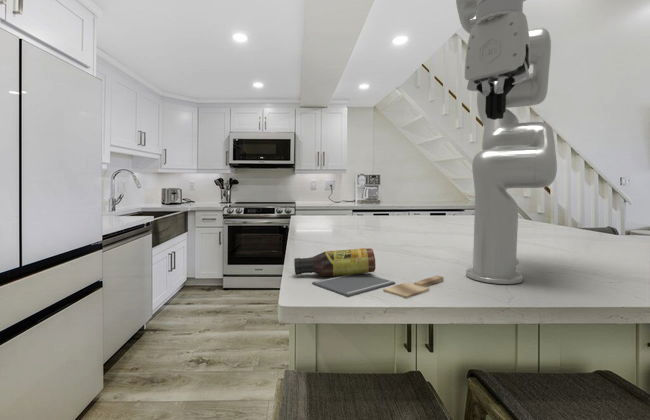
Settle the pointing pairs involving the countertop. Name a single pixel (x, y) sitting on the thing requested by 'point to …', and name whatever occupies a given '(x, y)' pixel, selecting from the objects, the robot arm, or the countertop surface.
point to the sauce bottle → (337, 262)
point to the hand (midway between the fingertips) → (495, 118)
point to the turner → (413, 287)
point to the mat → (353, 284)
